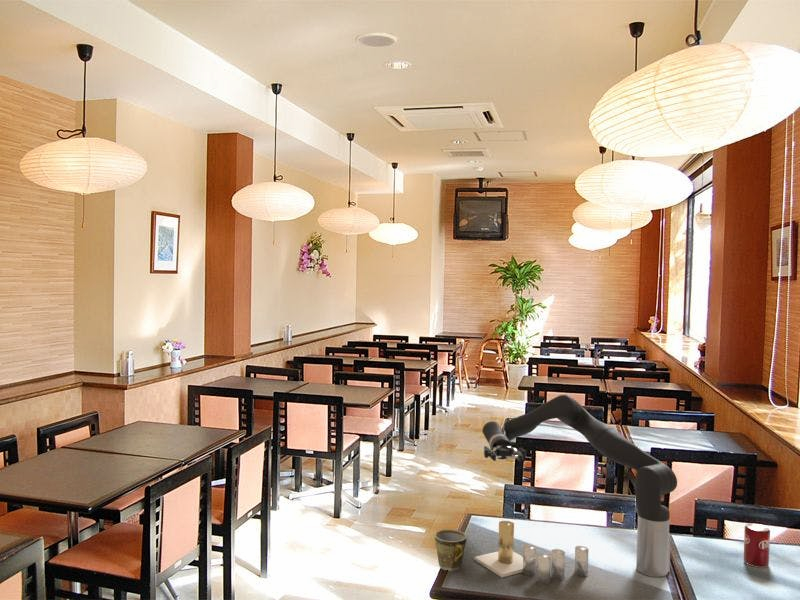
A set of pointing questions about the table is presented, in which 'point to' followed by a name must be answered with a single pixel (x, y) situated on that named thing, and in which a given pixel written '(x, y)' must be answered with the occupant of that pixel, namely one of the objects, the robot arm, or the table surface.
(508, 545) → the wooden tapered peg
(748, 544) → the soda can
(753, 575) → the table surface
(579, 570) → the spacers
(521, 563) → the pad
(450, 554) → the ceramic cup
